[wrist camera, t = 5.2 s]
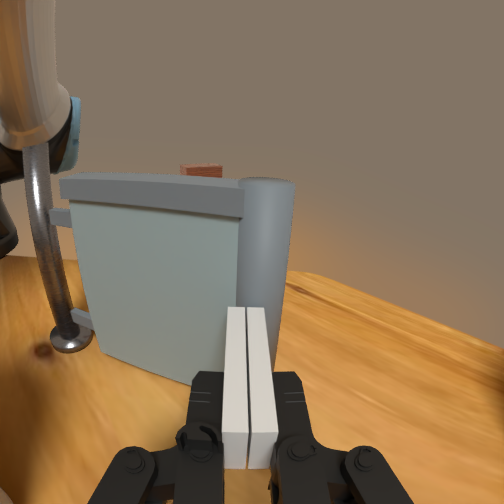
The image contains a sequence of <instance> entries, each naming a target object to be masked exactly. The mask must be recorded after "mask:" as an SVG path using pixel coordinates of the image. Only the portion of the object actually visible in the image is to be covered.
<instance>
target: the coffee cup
mask: <svg viewBox="0 0 504 504" xmlns="http://www.w3.org/2000/svg"><path fill="white" fill-rule="evenodd" d="M0 504H13V502H12V500H11V499H10V498H9V496H8V495H7V494H6V493H5V492H4V491H3V490H2V489H1V487H0Z"/></svg>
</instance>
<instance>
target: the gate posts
mask: <svg viewBox="0 0 504 504" xmlns="http://www.w3.org/2000/svg"><path fill="white" fill-rule="evenodd" d="M22 151H23V167H24V179H25V189H26V197H27V204H28V212H29V218H30V225H31V229H32V236H33V241H34V246H35V251H36V255H37V260H38V264H39V268H40V272H41V276H42V280H43V284H44V287H45V291H46V294H47V298H48V301H49V304H50V308H51V311H52V314H53V317H54V320H55V323H56V326H55V327H54V328H53V330H52V331H51V333H50V340H51V343H52V345H53V347H54V348H55V349H56V350H57V351H59V352H62V353H74V352H78V351H80V350H82V349H84V348H85V347H86V346H88V345H89V343H90V342H91V340H92V337H93V334H92V330H91V329H89V328H87V327H84V326H82V325H80V324H77V323H75V322H73V319H72V315H71V312H70V311H71V310H73V309H74V307H73V304H72V300H71V296H70V292H69V288H68V284H67V280H66V276H65V271H64V267H63V262H62V257H61V252H60V247H59V241H58V236H57V229H56V225H52V224H51V222H50V215H49V210H51V209H53V201H52V192H51V182H50V168H49V150H48V143H42V144H36V145H31V146H26V147H22ZM180 175H187V176H202V177H215V178H222V166H221V165H217V164H215V163H206V164H185V165H180Z"/></svg>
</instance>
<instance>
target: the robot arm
mask: <svg viewBox="0 0 504 504" xmlns="http://www.w3.org/2000/svg"><path fill="white" fill-rule="evenodd" d="M80 116H81V101H80V99H79V98H77V97H69V94H68V92H67V90H66V89H65V88H64V87H63V86H62V85H61V84H59V83H58V82H57V71H56V54H55V0H0V258H1V257H3V256H5V255H6V254H8V253H9V252H10V251H12V250H13V249H14V248H15V246H16V245H17V244H18V235H17V230H16V227H15V225H14V223H13V221H12V219H11V217H10V215H9V213H8V211H7V209H6V207H5V204H4V202H3V199H2V193H1V184H2V183H7V182H11V181H15V180H20V179H24V167H23V151H22V147H26V146H31V145H36V144H42V143H48V150H49V168H50V174H58V173H59V172H63V171H68V170H71V169H72V168H74V166H75V165H76V163H77V158H78V147H79V141H78V140H79V133H80ZM175 439H176V442H177V445H176V446H174V447H172V448H170V449H167V450H162V451H155V452H149V451H147V450H145V449H143V448H141V447H136V446H132V447H126V448H124V449H122V450H120V451H119V452H118V453H117V454H116V455H115V457H114V458H113V460H112V462H111V464H110V465H109V467H108V469H107V470H106V472H105V474H104V476H103V477H102V479H101V481H100V482H99V484H98V486H97V488H96V489H95V491H94V493H93V495H92V496H91V498H90V500H89V502H88V503H87V504H166V502H167V500H172V499H174V500H173V504H224V469H245V466H246V456H248V469H269V468H270V466H271V478H270V482H269V486H268V490H270V492H271V504H414V503H413V501H412V500H411V498H410V497H409V495H408V494H407V492H406V491H405V489H404V488H403V486H402V485H401V483H400V481H399V480H398V478H397V477H396V475H395V474H394V472H393V471H392V469H391V468H390V466H389V465H388V463H387V461H386V460H385V458H384V457H383V455H382V454H381V453H380V452H379V451H378V450H377V449H375V448H373V447H371V446H358V447H355V448H353V449H352V450H350V451H349V452H347V451H340V450H333V449H329V448H326V447H324V446H322V445H321V444H320V443H318V442H317V441H316V439H315V438H314V436H313V433H312V429H311V424H310V419H309V415H308V410H307V405H306V402H305V395H304V391H303V386H302V381H301V380H300V378H299V377H298V376H297V374H296V373H295V372H294V371H293V372H271V363H270V355H269V346H268V338H267V329H266V321H265V313H264V308H258V307H247V317H246V331H245V307H228V314H227V331H226V350H225V369H224V372H214V371H199V372H198V373H197V374H196V376H195V377H194V378H193V380H192V385H191V393H190V398H189V405H188V412H187V419H186V425H185V426H183V427H182V428H181V429H180V430H179V431H178V432H177V435H176V437H175Z"/></svg>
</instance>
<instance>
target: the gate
mask: <svg viewBox="0 0 504 504" xmlns="http://www.w3.org/2000/svg"><path fill="white" fill-rule="evenodd" d="M59 185H60V195H61V199H69V205H70V209H61V208H53V209H51V210H49V215H50V222H51V224H52V225H57V226H63V227H69V228H73V235H74V241H75V247H76V253H77V258H78V264H79V269H80V274H81V278H82V283H83V287H84V292H85V296H86V300H87V304H88V308H89V312H90V313H88V312H85V311H83V310H80V309H78V308H74V309H73V310H71V311H70V312H71V315H72V319H73V322H75V323H77V324H80V325H82V326H84V327H87V328H89V329H91V330H94V331H95V334H96V337H97V340H98V343H99V347H100V350H101V352H103V353H105V354H108V355H110V356H112V357H115V358H117V359H119V360H122V361H124V362H127V363H129V364H132V365H134V366H137V367H139V368H142V369H145V370H147V371H150V372H153V373H155V374H158V375H161V376H164V377H167V378H169V379H172V380H175V381H178V382H181V383H184V384H187V385H192V380H193V378H194V377H195V376H196V374H197V373H198V372H199V371H214V372H224V369H225V350H226V331H227V314H228V307H245V331H246V317H247V307H258V308H264V313H265V321H266V329H267V338H268V346H269V355H270V363H271V372H274V366H275V359H276V352H277V344H278V337H279V330H280V322H281V314H282V306H283V298H284V290H285V281H286V272H287V263H288V254H289V245H290V235H291V226H292V225H291V224H292V215H293V205H294V194H295V184H294V183H293V182H291V181H288V180H283V179H277V178H267V177H249V178H242V179H240V180H239V179H227V178H215V177H202V176H187V175H168V174H146V173H106V172H81V173H78V174H74V175H71V176H67V177H64V178H60V179H59Z"/></svg>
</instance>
